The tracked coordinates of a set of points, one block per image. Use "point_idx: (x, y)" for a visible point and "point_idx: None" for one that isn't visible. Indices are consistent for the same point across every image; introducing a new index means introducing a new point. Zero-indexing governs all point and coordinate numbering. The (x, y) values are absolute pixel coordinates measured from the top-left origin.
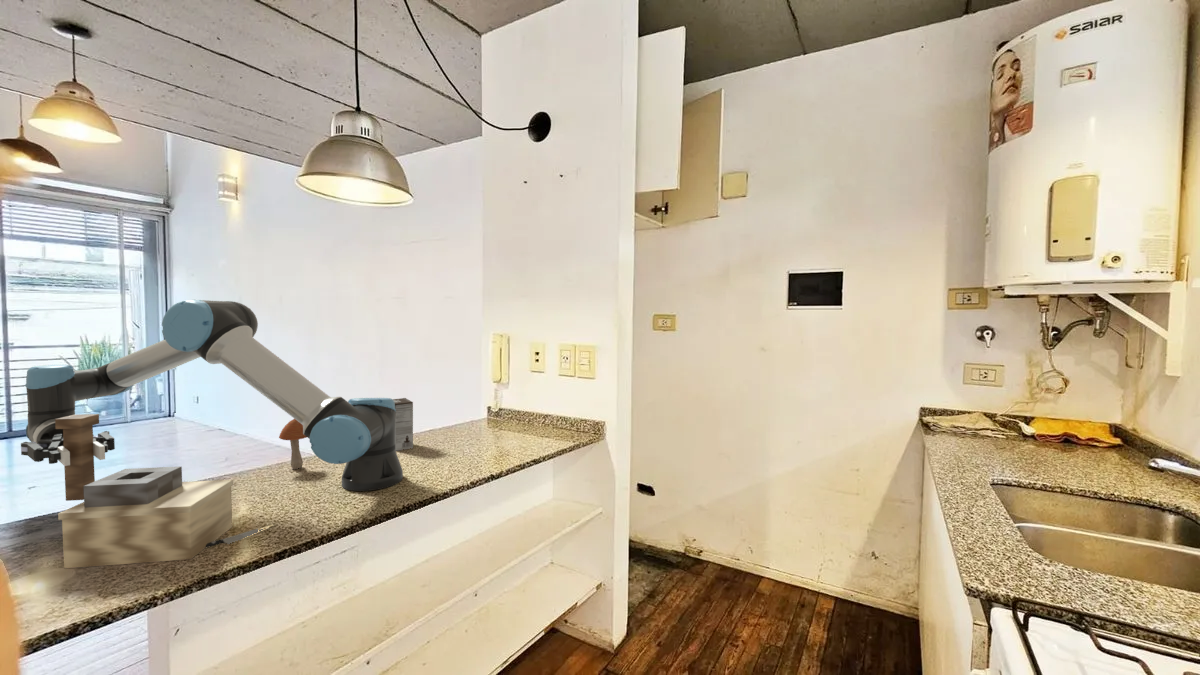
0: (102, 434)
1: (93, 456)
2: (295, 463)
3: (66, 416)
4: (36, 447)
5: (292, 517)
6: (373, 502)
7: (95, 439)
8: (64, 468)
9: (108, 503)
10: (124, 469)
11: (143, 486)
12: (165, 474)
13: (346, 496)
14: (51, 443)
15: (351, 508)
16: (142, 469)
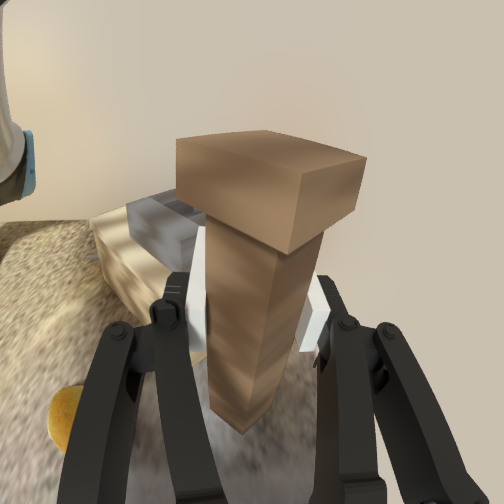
0: (88, 495)
1: (207, 337)
2: None
3: (336, 163)
4: (408, 367)
5: (67, 257)
6: (26, 236)
7: (169, 369)
8: (288, 354)
9: None
10: (183, 238)
11: None
12: (163, 192)
13: (9, 261)
14: (373, 427)
15: (40, 239)
16: (165, 221)
